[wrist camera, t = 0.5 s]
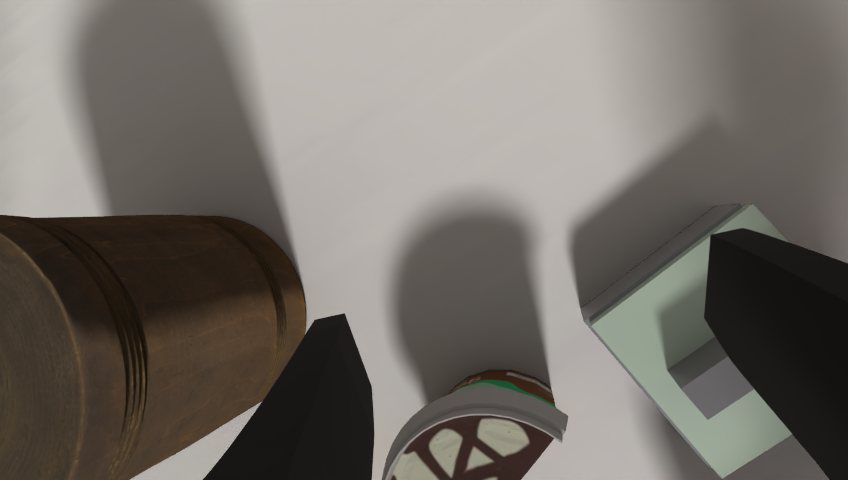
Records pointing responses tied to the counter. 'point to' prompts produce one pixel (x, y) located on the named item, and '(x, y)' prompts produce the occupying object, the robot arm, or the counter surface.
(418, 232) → the counter surface
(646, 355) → the lid
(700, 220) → the tub
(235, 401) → the wooden container
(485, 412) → the food container
